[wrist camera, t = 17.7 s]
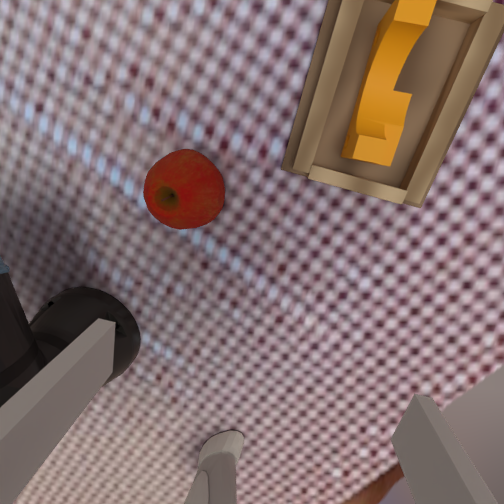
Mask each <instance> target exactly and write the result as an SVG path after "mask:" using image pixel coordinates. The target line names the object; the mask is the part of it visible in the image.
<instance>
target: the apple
mask: <svg viewBox="0 0 504 504" xmlns="http://www.w3.org/2000/svg"><path fill="white" fill-rule="evenodd" d="M143 195H144V199H145V202H146V205H147V208H148V210H149V211H150V213H151V214H152V215H153V216H154V217H155V218H156V219H157V220H159V221H160V222H161V223H163V224H165V225H167V226H169V227H171V228H175V229H180V230H181V229H189V228H197V227H200V226H203V225H206V224H208V223H209V222H211V221H212V220H214V219H215V218H216V216H217V215H218V214H219V213H220V211H221V210H222V207H223V204H224V197H225V187H224V182H223V178H222V176H221V174H220V172H219V170H218V169H217V168H216V166H215V165H214V164H213V163H212V162H211V161H210V160H209V159H208V158H207V157H205V156H204V155H202V154H201V153H199V152H196V151H194V150H190V149H182V150H178V151H175V152H171V153H169V154H168V155H166V156H165V157H163V158H162V159H161V160H159V161H158V162H156V163H155V165H154V166H153V167H152V168H151V169H150V170H149V171H148V174H147V176H146V179H145V184H144V191H143Z"/></svg>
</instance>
